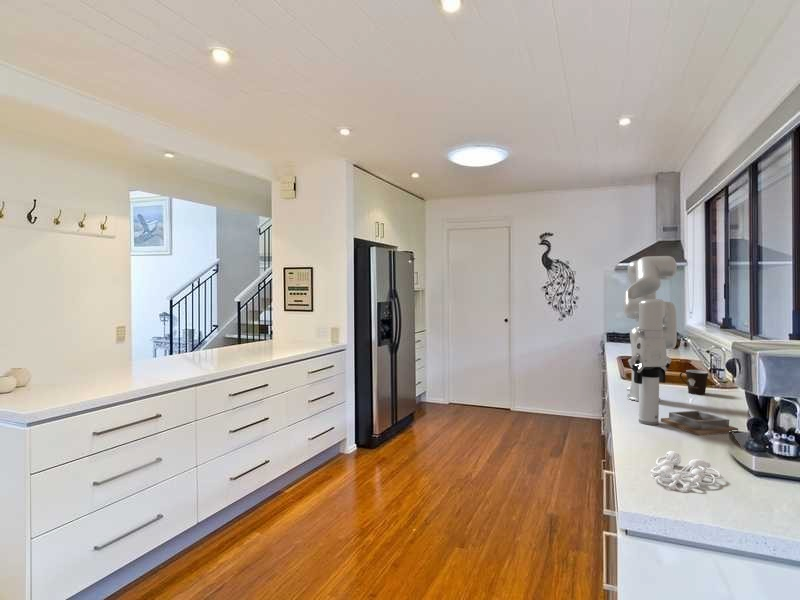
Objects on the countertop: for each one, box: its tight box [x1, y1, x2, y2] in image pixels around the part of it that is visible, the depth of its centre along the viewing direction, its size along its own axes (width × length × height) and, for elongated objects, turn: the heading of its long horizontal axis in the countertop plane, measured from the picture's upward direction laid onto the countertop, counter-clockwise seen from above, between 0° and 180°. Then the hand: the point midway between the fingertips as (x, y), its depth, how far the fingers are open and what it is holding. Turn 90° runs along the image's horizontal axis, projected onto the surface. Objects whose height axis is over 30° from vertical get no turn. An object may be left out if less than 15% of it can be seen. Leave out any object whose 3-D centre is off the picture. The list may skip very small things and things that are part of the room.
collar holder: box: [660, 409, 739, 436], centre depth 162 cm, size 16×16×4 cm
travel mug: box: [638, 367, 660, 426], centre depth 167 cm, size 6×7×20 cm
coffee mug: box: [679, 369, 709, 396], centre depth 215 cm, size 12×9×10 cm
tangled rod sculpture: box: [649, 450, 722, 493], centre depth 118 cm, size 19×14×4 cm
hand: (649, 382), depth 167 cm, fingers open, 9 cm apart
